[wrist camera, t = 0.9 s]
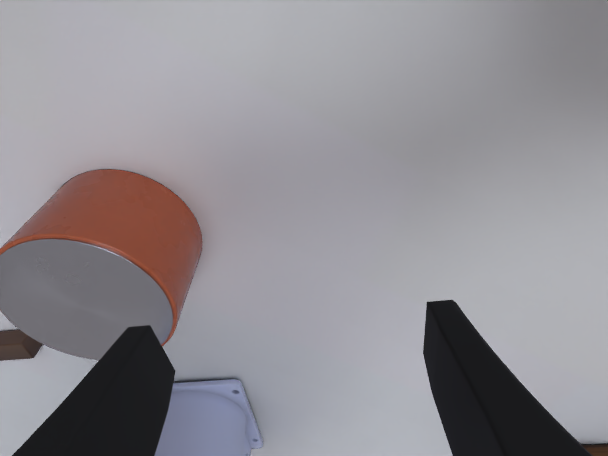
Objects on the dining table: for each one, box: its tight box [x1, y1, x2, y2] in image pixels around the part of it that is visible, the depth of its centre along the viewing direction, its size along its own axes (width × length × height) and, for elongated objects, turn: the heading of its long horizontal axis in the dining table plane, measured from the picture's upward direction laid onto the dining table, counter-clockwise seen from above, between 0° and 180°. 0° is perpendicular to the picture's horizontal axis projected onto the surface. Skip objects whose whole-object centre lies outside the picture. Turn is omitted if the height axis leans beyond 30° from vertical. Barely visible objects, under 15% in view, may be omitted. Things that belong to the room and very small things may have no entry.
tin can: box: [0, 169, 202, 360], centre depth 18 cm, size 8×8×5 cm
